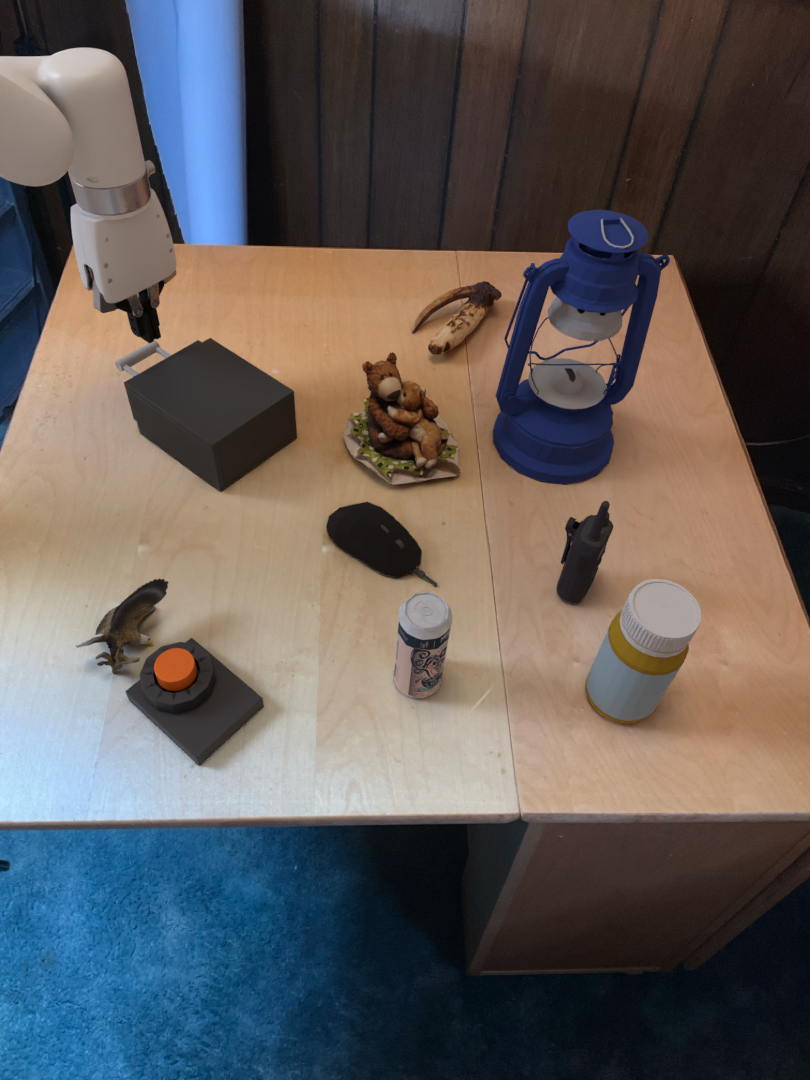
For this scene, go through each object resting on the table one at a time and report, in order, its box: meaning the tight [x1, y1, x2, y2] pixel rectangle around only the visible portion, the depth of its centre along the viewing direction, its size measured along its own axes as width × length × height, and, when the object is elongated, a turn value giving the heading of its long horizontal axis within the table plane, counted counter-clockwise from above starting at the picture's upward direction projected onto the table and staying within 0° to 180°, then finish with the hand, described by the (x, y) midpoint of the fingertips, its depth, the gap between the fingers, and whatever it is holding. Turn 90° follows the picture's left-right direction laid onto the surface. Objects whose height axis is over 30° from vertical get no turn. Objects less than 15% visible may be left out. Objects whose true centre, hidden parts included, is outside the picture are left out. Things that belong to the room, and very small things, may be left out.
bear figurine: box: [342, 351, 462, 485], centre depth 95 cm, size 14×15×12 cm
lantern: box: [492, 209, 671, 485], centre depth 91 cm, size 17×15×30 cm
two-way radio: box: [556, 500, 614, 605], centre depth 82 cm, size 6×4×15 cm
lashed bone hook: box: [411, 280, 502, 356], centre depth 115 cm, size 9×5×18 cm
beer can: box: [392, 591, 454, 699], centre depth 75 cm, size 5×5×12 cm
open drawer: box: [114, 339, 203, 422], centre depth 99 cm, size 19×11×6 cm, turn 50°
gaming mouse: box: [326, 501, 439, 588], centre depth 88 cm, size 6×15×4 cm, turn 51°
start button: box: [154, 648, 197, 691], centre depth 74 cm, size 4×4×2 cm
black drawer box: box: [127, 337, 298, 493], centre depth 97 cm, size 15×13×8 cm
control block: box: [125, 637, 265, 767], centre depth 75 cm, size 10×8×4 cm
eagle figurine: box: [75, 578, 169, 675], centre depth 78 cm, size 8×7×9 cm
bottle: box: [585, 578, 702, 725], centre depth 74 cm, size 7×7×15 cm
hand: (147, 335), depth 97 cm, fingers closed
